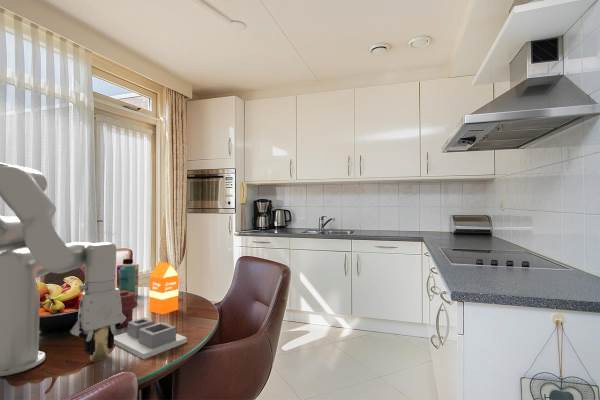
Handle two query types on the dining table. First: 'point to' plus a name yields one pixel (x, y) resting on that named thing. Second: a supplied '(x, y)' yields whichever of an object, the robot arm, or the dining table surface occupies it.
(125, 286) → the beverage bottle
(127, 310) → the mechanical component
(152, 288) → the orange juice
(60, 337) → the dining table surface
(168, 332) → the plate
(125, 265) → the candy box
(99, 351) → the brass pipe fitting
